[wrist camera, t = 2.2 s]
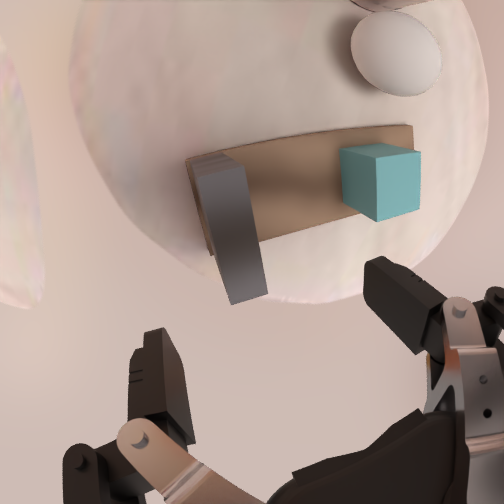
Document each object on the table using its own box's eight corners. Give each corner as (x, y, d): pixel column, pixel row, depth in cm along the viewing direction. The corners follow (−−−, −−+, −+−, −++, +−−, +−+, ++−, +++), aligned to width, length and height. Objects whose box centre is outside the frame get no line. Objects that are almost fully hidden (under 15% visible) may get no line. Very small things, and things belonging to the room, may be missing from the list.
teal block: (338, 148, 22) (375, 158, 18) (382, 142, 23) (420, 151, 18) (343, 203, 24) (376, 222, 20) (384, 192, 25) (419, 209, 21)
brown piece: (184, 159, 20) (191, 179, 13) (406, 124, 23) (466, 136, 17) (208, 250, 24) (226, 306, 17) (407, 196, 27) (461, 222, 20)
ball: (408, 66, 21) (469, 65, 14) (372, 112, 22) (437, 119, 15) (361, 7, 17) (419, -12, 10) (316, 50, 18) (375, 30, 12)
